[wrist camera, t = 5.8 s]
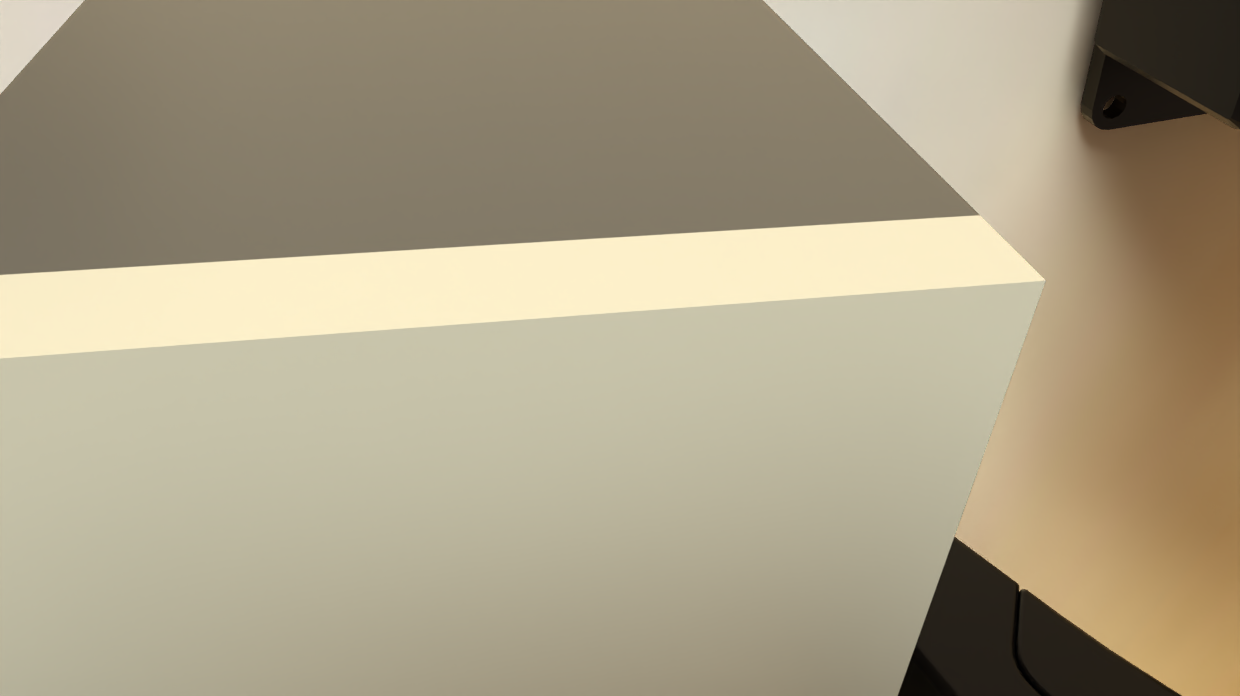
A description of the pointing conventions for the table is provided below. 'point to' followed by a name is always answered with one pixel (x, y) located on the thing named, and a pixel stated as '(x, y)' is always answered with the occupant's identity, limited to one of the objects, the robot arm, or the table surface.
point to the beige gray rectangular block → (477, 355)
